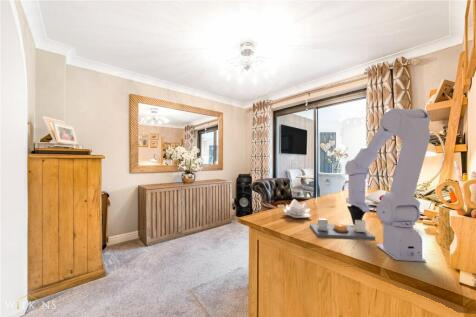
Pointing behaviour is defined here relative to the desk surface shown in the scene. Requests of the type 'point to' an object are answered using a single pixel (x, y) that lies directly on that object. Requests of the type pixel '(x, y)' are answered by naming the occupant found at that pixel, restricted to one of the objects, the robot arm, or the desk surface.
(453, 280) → the desk surface
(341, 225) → the push button
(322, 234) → the panel
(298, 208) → the lotus flower
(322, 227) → the grey slider knob
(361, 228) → the toggle lever
